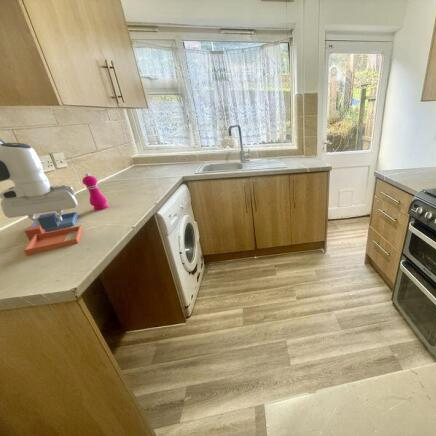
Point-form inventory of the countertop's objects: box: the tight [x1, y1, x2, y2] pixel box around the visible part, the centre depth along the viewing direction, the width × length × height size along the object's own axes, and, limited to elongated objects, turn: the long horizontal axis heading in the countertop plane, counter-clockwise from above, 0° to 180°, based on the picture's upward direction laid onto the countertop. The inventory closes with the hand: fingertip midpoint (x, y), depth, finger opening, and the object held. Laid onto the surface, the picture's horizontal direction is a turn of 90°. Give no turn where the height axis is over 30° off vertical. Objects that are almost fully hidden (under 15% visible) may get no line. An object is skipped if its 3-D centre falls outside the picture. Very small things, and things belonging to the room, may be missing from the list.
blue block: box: [37, 211, 60, 229], centre depth 95 cm, size 4×4×4 cm
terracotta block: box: [24, 225, 46, 241], centre depth 103 cm, size 4×4×4 cm
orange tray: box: [23, 225, 83, 257], centre depth 99 cm, size 15×15×2 cm
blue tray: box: [29, 211, 79, 232], centre depth 115 cm, size 15×15×2 cm
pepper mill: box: [82, 172, 109, 211], centre depth 130 cm, size 7×7×20 cm
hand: (49, 222), depth 95 cm, fingers closed on blue block, 4 cm apart
